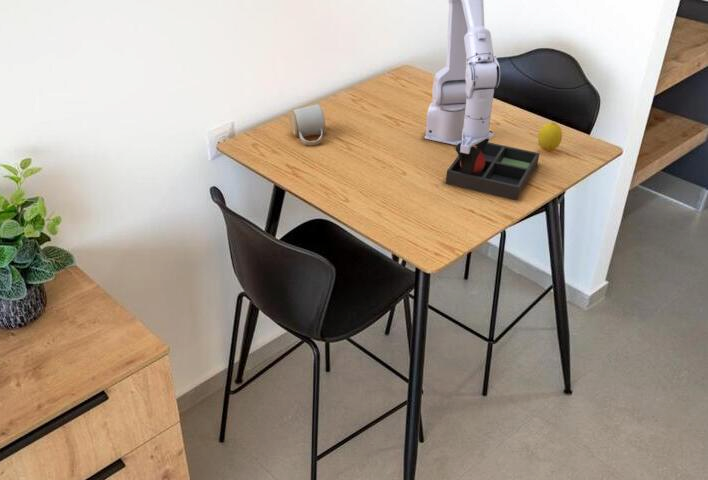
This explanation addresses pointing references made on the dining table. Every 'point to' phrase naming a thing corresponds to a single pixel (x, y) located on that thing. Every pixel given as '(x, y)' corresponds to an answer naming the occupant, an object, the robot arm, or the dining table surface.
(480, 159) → the onion
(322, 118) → the ceramic mug
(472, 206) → the dining table surface
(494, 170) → the divided tray
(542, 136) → the lemon
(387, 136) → the dining table surface
